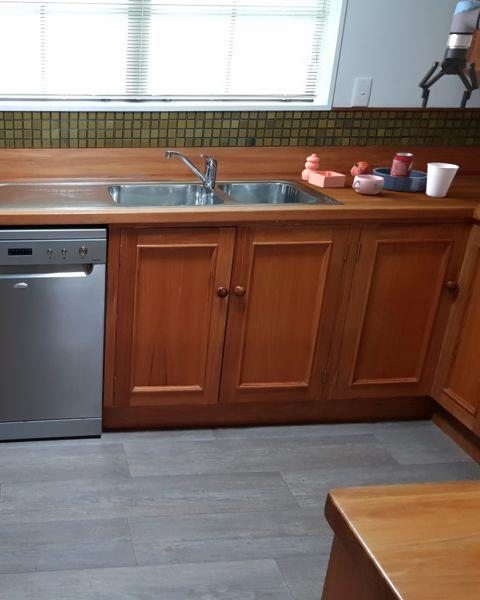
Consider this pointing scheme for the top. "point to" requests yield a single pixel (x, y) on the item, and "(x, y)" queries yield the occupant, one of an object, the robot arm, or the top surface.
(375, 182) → the mug
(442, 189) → the cup
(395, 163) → the soda can
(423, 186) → the bowl
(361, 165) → the pomegranate
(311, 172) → the pottery
